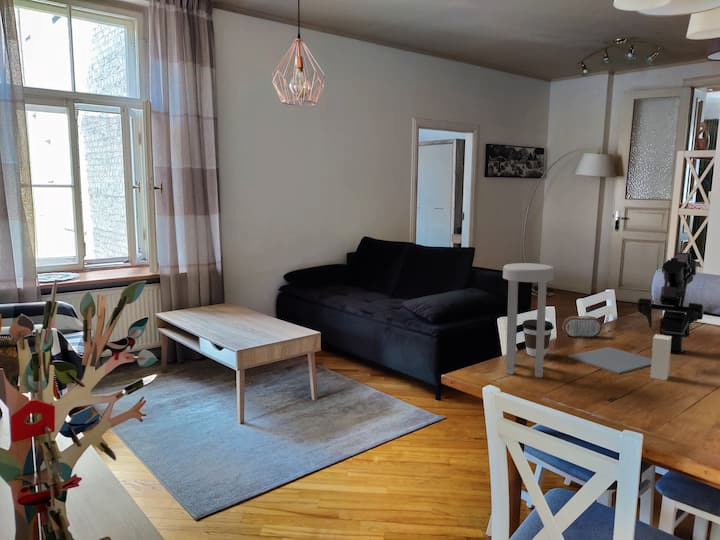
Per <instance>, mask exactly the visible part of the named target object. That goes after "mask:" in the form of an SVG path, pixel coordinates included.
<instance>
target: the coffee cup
mask: <svg viewBox="0 0 720 540" xmlns="http://www.w3.org/2000/svg"><path fill="white" fill-rule="evenodd" d="M521 328H523V336H524V342H525V349H526V353H527V355H528V356H529V355H530V356H529V357H532V356H534V358H536V334H537V318H536V319H526V320H523V321H522V323H521ZM553 329H554V325H553V323H552V322H550V321H549V320H545V334H544V357H546V355H547V352H548V348H549V346H550V342H551V341H550V340H551V335H552V330H553Z"/></svg>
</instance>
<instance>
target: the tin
mask: <svg viewBox="0 0 720 540" xmlns="http://www.w3.org/2000/svg"><path fill="white" fill-rule="evenodd" d="M602 327H603V326H602V323H601V321H599V319H598V318H597V317H595V316H592V315H591V316H588V315H587V316H585V315H584V316H583V315H581V316H580V315H569V316H568V317H566V318H565V319H564V320H563V322H562V324H561V328H562V332H564V334H566V335H567V336H568V335H569V337H572V338H595V337H597V336H598V335H600V333H601V332H602Z"/></svg>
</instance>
